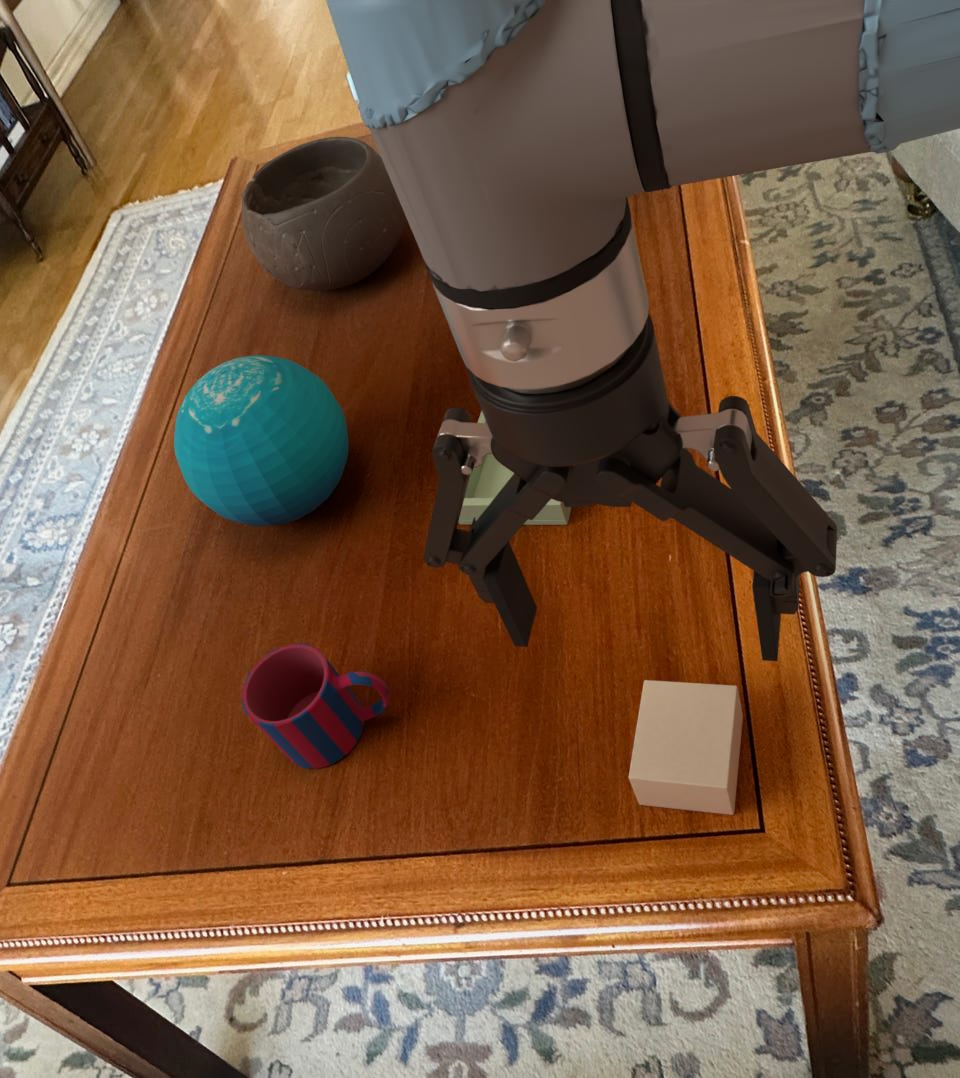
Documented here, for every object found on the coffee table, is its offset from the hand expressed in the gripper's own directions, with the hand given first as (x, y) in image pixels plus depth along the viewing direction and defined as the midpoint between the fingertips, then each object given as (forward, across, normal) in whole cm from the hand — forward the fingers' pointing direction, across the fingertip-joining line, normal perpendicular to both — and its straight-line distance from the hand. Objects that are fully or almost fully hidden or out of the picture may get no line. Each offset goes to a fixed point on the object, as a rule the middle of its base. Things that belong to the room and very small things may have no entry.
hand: (643, 632), depth 54 cm
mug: (+15, -25, 0) cm, 29 cm away
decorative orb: (+15, -38, +23) cm, 47 cm away
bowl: (+15, -45, +58) cm, 75 cm away
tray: (+15, -16, +29) cm, 36 cm away
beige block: (+15, +1, 0) cm, 15 cm away
